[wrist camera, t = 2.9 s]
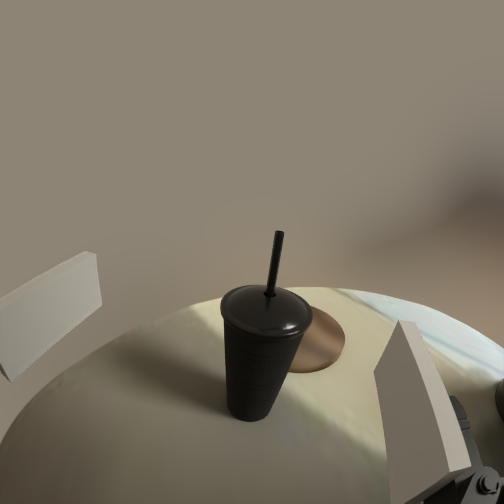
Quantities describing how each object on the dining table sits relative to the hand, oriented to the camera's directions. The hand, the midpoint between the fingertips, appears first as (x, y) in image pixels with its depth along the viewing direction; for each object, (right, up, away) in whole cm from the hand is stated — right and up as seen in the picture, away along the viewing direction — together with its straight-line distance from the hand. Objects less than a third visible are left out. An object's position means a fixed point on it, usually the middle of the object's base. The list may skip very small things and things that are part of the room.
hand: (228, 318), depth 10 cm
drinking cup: (+1, -15, +17) cm, 22 cm away
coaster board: (+7, -10, +30) cm, 32 cm away
